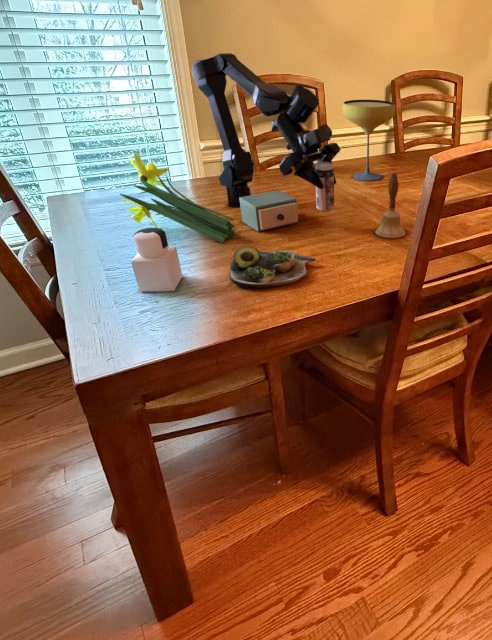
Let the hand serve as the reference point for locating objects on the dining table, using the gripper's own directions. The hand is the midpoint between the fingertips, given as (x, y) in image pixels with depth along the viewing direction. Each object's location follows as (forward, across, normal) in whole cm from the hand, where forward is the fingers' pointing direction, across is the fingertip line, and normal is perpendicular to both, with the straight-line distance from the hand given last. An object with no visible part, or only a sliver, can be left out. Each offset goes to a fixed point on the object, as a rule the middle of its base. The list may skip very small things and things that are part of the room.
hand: (328, 186), depth 121 cm
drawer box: (-4, -6, +21) cm, 22 cm away
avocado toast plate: (+12, -29, +5) cm, 32 cm away
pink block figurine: (+3, -47, +14) cm, 49 cm away
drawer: (-3, -6, +19) cm, 20 cm away
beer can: (+4, 0, +6) cm, 7 cm away
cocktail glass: (-8, +50, +25) cm, 57 cm away
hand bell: (+19, +8, -2) cm, 21 cm away
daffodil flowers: (-13, -24, +31) cm, 41 cm away
